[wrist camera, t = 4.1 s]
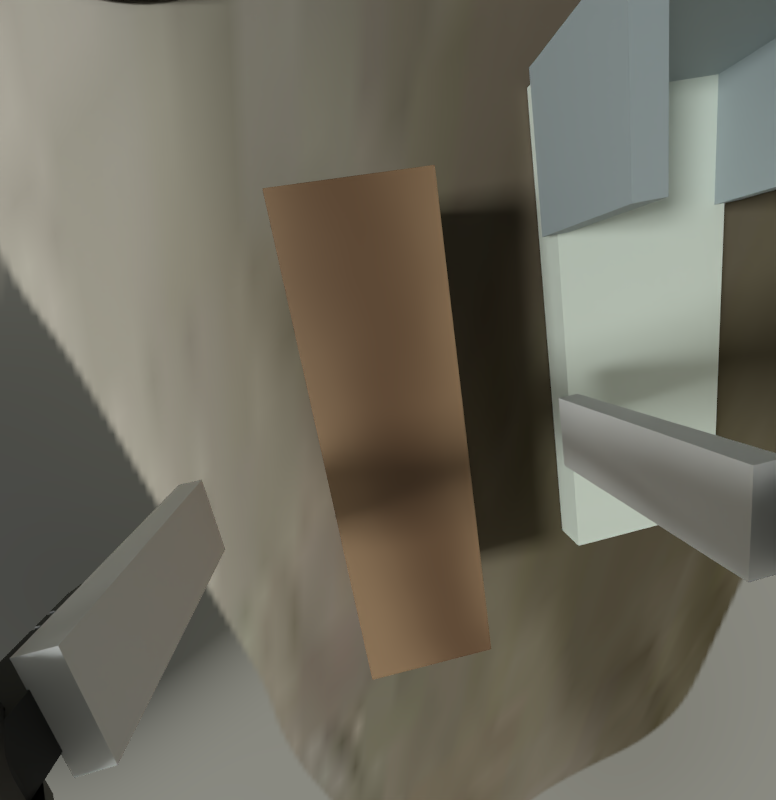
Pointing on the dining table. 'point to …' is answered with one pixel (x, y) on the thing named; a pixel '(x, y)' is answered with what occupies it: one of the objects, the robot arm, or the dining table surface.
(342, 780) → the dining table surface
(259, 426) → the dining table surface
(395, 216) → the brown rectangular block
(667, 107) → the bracket board
